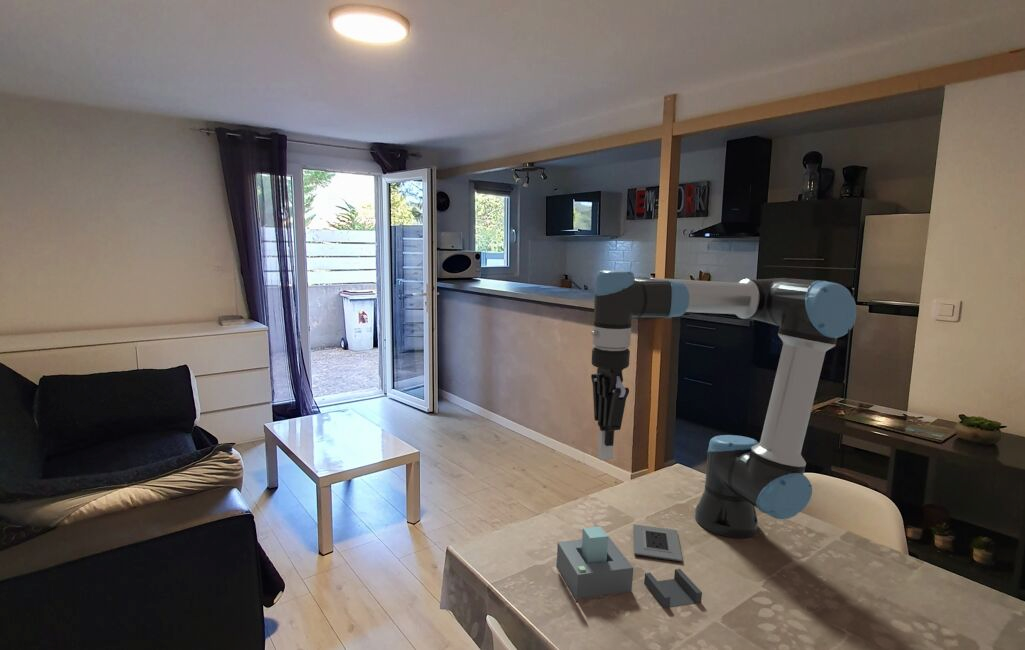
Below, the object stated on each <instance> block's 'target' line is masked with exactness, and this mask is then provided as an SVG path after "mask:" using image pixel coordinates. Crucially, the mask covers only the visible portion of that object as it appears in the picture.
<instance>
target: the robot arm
mask: <svg viewBox="0 0 1025 650" xmlns="http://www.w3.org/2000/svg"><path fill="white" fill-rule="evenodd" d="M594 285H595V286H594V291H593V295H594V301H593V302H594V306H593V327H592V330H593V331H591V335H592V345H593V347H592V349H591V365H592V366H593V367H595V368H596V373H592V374H591V375H590V378H591V383H592V394H593V397H592V398H593V416H594V417H593V418H594V420H595V421H597V426H598V427H599V428H598V445H597V446H598V447H597V449H598V450H597V458H598V459H599V460H600V461H607V460H608V461H609V460H610V461H611V460H614V444H615V443H614V442H615V431H620V430H621V428H622V423H623V418H624V413H625V412H624V411H625V407H626V402H627V398H628V396H629V394H630V389H629V387H625V386H624V385H623V382H624V377H623V370H625V369H628V367H629V366H630V355H631V351H630V349H629V348H630V346H631V339H632V338H631V336H632V320H633V318H634V319H635V318H636V319H637V318H667V319H670V318H675V317H676V318H677V317H682V316H683V315H684V314H686V313H700V314H701V313H703V314H722V315H723V314H724V315H725V314H726V315H727V314H728V315H735V316H737V317H738V318H740V319H743V320H745V319H746V320H747V319H749V320H755V321H758V322H762V323H767V324H770V325H774V326H778V327H779V328H778V333H777V335H778V337H779V338H780V340H781V341H782V348H781V352H780V356H779V360H778V364H777V369H776V372H775V378H774V380H773V381H774V382H773V386H772V391H771V393H770V394H771V395H770V398H769V403H768V406H767V411H766V415H765V420H764V424H763V428H762V432H761V436H760V440H759V442H758V441H757V440H756V439H755V438H751V437H748V436H743V435H734V434H723V435H722V434H721V435H716V436H713V437H712V438H710V440H709V444H708V449H707V450H706V451H707V457H706V469H705V482H704V491H703V493H702V495H701V497H700V500H699V502H698V503H697V505H696V508H695V513H694V518H695V521H696V522H697V524H699V526H701V527H702V528H704V529H705V530H707V531H709V532H710V533H711V532H712V533H714V534H715V535H719V536H723V537H728V538H733V539H734V538H738V539H744V538H749V537H752V536H754V535H755V534H756V533H757V532H758V526H759V520H758V517H757V513H756V512H757V511H756V508H757V509H758V510H759V511H760V512H761V513H764V514H766V515H768V516H770V517H772V518H773V519H777V520H786V519H791V518H793V517H796V516H797V515H798V514H799V513H802V512H803V510H805V509H806V507H807V506H808V505H809V503H810V501H811V499H812V494H813V486H812V484H811V481H810V479H809V478H808V477H807V476H806V475H805V474H804V473H805V470H806V465H807V462H806V461H805V459H804V457H803V456H802V449H803V445H804V440H805V437H806V433H807V429H808V426H809V421H810V417H811V414H812V409H813V405H814V401H815V397H816V393H817V389H818V384H819V380H820V376H821V372H822V368H823V364H824V360H825V356H826V352H827V351H829V350H830V349H833V348H835V347H836V345H837V341H838V338H841V337H843V336H845V335H846V334H847V335H848V333H849V331H850V330H852V329H853V327H854V325H855V321H856V320H857V304H856V301H855V297H854V296H852V293H851V292H850V290H849V289H848V288H847V287H846V286H844V285H842V284H840V283H837V282H833V281H827V280H818V279H817V280H816V279H801V278H794V277H793V278H791V277H789V278H788V277H780V278H779V277H778V278H777V277H775V278H762V279H750V278H745V279H741V280H739V281H738V282H730V281H729V282H728V281H713V280H712V281H710V280H694V279H677V278H659V277H643V276H635V274H634V272H633V271H631V270H621V269H617V270H616V269H615V270H614V269H604V270H600V271H598V272H597V273H596V276H595V283H594Z"/></svg>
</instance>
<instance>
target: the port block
mask: <svg viewBox="0 0 1025 650" xmlns="http://www.w3.org/2000/svg"><path fill="white" fill-rule="evenodd" d="M556 548H557V550H556V569H557V571H558V573H559V574H560V576H561V579H562V580H563V582H564V584H565V585H566V587H567V589H568V591H569V592H570V594H571V596H572V598H573V600H574V601H575V603H579V601H578V600H579V599H588V598H594V597H600V596H601V597H602V596H609V595H617V594H623V593H631V592H632V591H633V577H634V567H633V565H632V564H631V562H630V561H629V560H628V559H627V558H626V556H625V555H624V553H622V551H621V550H620V549H619V548H618V546H617V545H616V544H615V542H614V541H613V540H612V539H611V537H610V536H609V535H608V548H607V562H600V563H592V564H586V563H585V561H584V560H583V558H582V557H581V552H582V538H581V539H573V540H562V541H558V542H557V547H556Z"/></svg>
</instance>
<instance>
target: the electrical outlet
mask: <svg viewBox="0 0 1025 650" xmlns="http://www.w3.org/2000/svg"><path fill="white" fill-rule="evenodd" d="M632 528H633V532H632V533H633V551H634V553H633V555H634V556H637V557H644V558H651V559H657V560H664V561H671V562H677V563H683V561H684V560H683V559H684V558H683V555H682V554H683V553H682V549H681V544H680V540H679V534H678V530H677V529H673V528H672V529H671V528H664V527H657V526H649V525H641V524H635V523H633V527H632Z"/></svg>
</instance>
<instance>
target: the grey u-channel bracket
mask: <svg viewBox="0 0 1025 650" xmlns="http://www.w3.org/2000/svg"><path fill="white" fill-rule="evenodd" d="M653 575H654V574H652V573H651V572H644V581H643V584H644V586H645V587H646V588H647V589H648V591H649V592H650V593H651V594H652V595H653V597H654V598H655V599H656V600H657V602H658V603H659V605H661V607H662V608H663V609H668V608H674V607H681V606H682V607H683V606H689V605H695V604H696V605H697V604H700V603H702V596H703V591H701V589H700V588H699V587H698V586H697V585H696V583H694V582H693V581H692V580H691V579H690V578H689V577H688V576H687V574H686V573H685V572H684V571H683V570H682V569H681V568H674V578H672V579H671V578H670V579H664V580H657V578H655V577H654V576H653Z"/></svg>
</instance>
